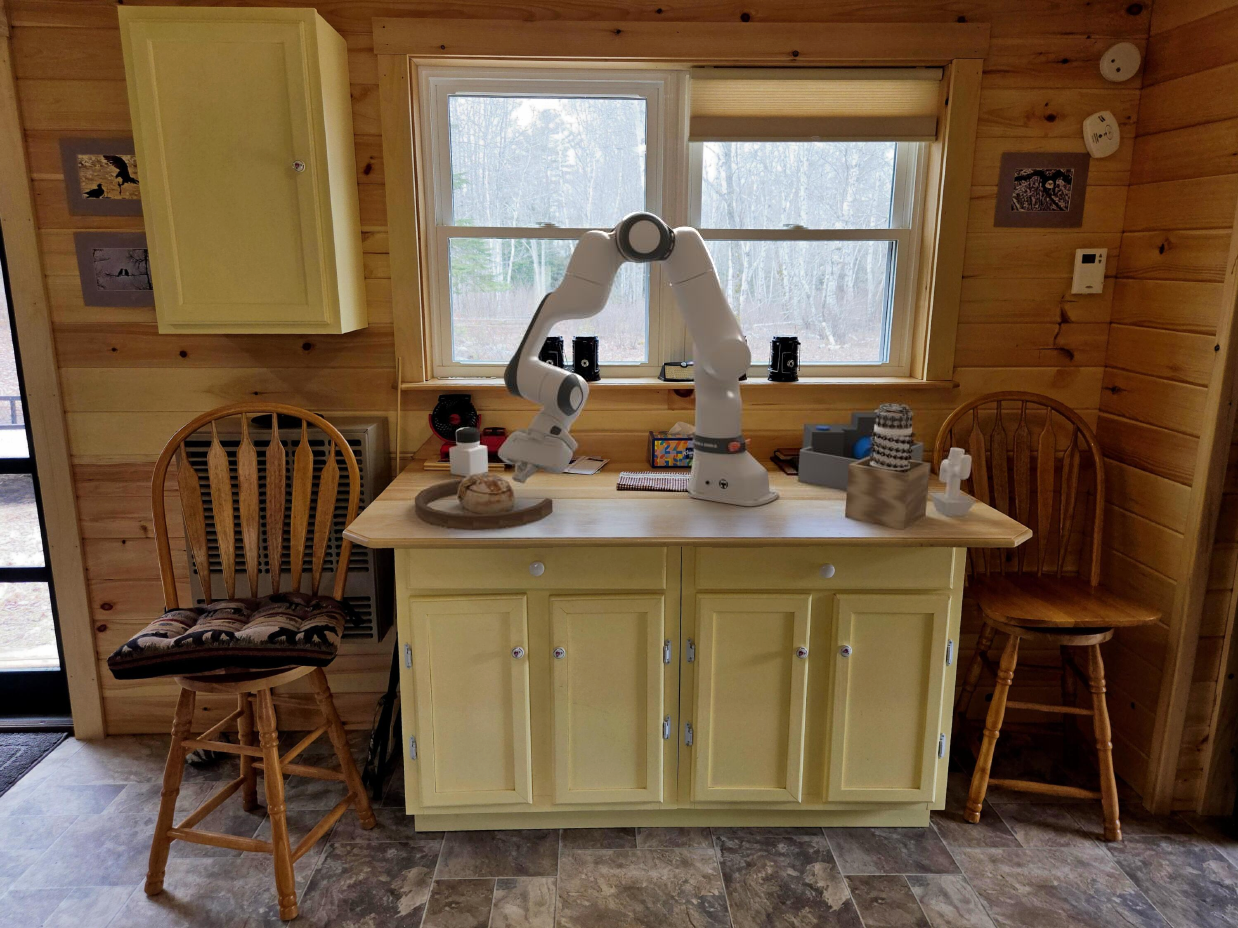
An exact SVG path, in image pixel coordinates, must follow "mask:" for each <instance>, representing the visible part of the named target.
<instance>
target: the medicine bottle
mask: <svg viewBox="0 0 1238 928" xmlns="http://www.w3.org/2000/svg"><path fill="white" fill-rule="evenodd" d="M480 437H481V435H480V430H479V428H476V427H469V426H467V427H460V428H458V429H456V431H455V438H456V439H455V440H456V441H455V442H456V443H455V444H456V445H455V446H454V445H453V446H451V447H449V450H448V451H449V467H450V468H449V469H450V470H449V471H450V475H455V476H456V475H457V476H460V477H465V478H466V477H467V476H469V475H472V474H476V473H489V463H488V461H489V460H488V459H489V458H488V446H487V445H482V444H480V442H481V441H480V440H481V439H480Z"/></svg>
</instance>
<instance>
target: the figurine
mask: <svg viewBox="0 0 1238 928" xmlns="http://www.w3.org/2000/svg"><path fill="white" fill-rule="evenodd" d="M971 468H972V456H971V455H970V454H965V449H963V448H962V447H961V448H959V447H951V448H950V451H949V454H948V457H947V458H946V459H943V460H942V461H941V463H940V468H939V469H940V470H939V476H938V477H939V482H940V483H946V486H945V487H946V489H945V492H934V493H929V492H928V496H929V497H930V499H931V502H932V504H933V506H934V508H935V511H937V512H938V513H940V514H941V515H943V516H945V517H961V516H965V515H966V514H968V512H969V511H970V509H971V508H972V507H973V506H974V504H975V503H976V500H975V499H974V500H973V498H970V497H968V496H966V495H964V494H962V493H961V492H960V489H961V488H960V487H961V481H962V480H966V479H968V478H969V476H970V474H971Z"/></svg>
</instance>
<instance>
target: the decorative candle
mask: <svg viewBox="0 0 1238 928" xmlns="http://www.w3.org/2000/svg"><path fill="white" fill-rule="evenodd" d="M874 412H876V423H875V426H874V431H873V430H871V431H870V433H872V435H873V437H871V438H870V439H871V440H870V442H871V443H872V444H871V445H870V449H871V451H873V452H872V453H870V458H871V460H870V465H871V466H872V467H873V468H878V469H884V470H890V471H895V472H901V473H906V472H907V469H908V468H910V464H909V463H907V462H908V460H911V459H912V457H911V456H910V455H908V453H909V454H910V453H912V452H913V450H912V449H911V448H909V444H910V445H911V444H913V443H914V442H915V440H914V439H912V438H914V437H915V436H916V433H915V432H913V416H914V415H915V413H914V412H912V411H911V409H910V406H908V405H906V404H902V403H889V402H888V403H883V404H881V405H879V407H878V409H875V410H874ZM874 439H875V441H874ZM873 447H874V448H873Z"/></svg>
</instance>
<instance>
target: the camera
mask: <svg viewBox="0 0 1238 928" xmlns="http://www.w3.org/2000/svg"><path fill="white" fill-rule="evenodd" d="M850 413H851V414H850V423H807V422H806V423H805V422H804V423H803V436H802V437H803V438H802V449H804V448H806V447H809V446H811V447H814V450H813V452H816V453H822V454H828V455H833V456H839V457H845V458H851V459H856V460H861V459H863V458H866V457H868V456H870V453H872V452H873V451H871V449H870V445H871V444H872V443H871V442H870V440H871V439H870V438H871V437H873V435H872V433H870V431H871V430H873V431H874V426H875V423H876V412H875V411H851V412H850ZM874 441H875V439H874ZM873 448H874V447H873Z"/></svg>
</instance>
